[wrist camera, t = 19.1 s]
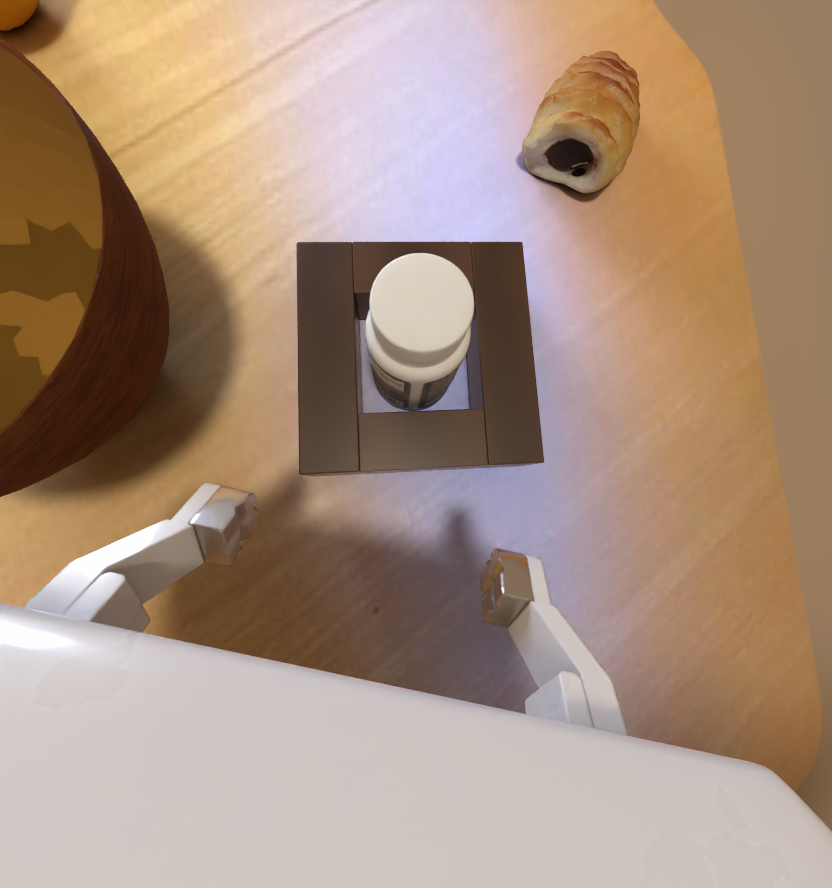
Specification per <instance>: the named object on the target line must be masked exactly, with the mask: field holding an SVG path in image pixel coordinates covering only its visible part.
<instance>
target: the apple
mask: <svg viewBox="0 0 832 888" xmlns="http://www.w3.org/2000/svg"><path fill="white" fill-rule="evenodd" d="M38 2H39V0H0V31H8V30H10V29H13V28H16V27H18V26H21V25H23V24H24V23H25V22H26V21H27V20H28V19H29V18H30V17H31V16H32V15H33V13H34V11H35V9H36V7H37V5H38Z"/></svg>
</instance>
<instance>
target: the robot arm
mask: <svg viewBox="0 0 832 888" xmlns="http://www.w3.org/2000/svg"><path fill="white" fill-rule="evenodd" d="M255 502H256V497H255V494H254V493H250V492H246V491H242V490H238V489H234V488H230V487H226V486H222V485H218V484H214V483H210V482H207V483H205V484H203V485H202V486H201V487H200V488H199V489H198V490H197V491H196V492H195V493H194V495H193V496H192V497H191V498H190V499H189V500H188V501H187V502H186V503H185V504H184V506H183V507H182V508H181V509H180V510H179V511H178V512H177V513H176V514H175V516H174V517H173V518H172V519H171V520H167V519H165V520H163V521H161V522H158V523H156V524H154V525H152V526H149V527H147V528H145V529H143V530H141V531H138V532H136V533H134V534H132V535H129V536H127V537H125V538H123V539H121V540H118V541H116V542H114V543H112V544H109V545H107V546H105V547H103V548H101V549H98V550H96V551H94V552H92V553H89V554H87V555H85V556H83V557H81V558H78V559H76V560H74V561H72V562H70V563H69V564H68V565H67V566H66V567H65V568H64V569H63V570H62V571H61V572H60V573H59V574H58V575H56V576H55V577H54V578H53V579H52V580H51V581H50V582H49V583H48V584H47V585H46V586H45V587H44V588H43V589H41V590H40V591H39V592H38V593H37V594H36V595H35V596H34V597H33V598H32V599H31V600H30V601H29V602H28V603H26V604H25V605H24V606H23V607H20V606H15V605H10V604H6V603H1V602H0V888H832V831H831V830H830V829H829V828H828V827H827V826H826V824H825V823H824V822H822V820H821V819H820V818H819V817H818V816H817V815H816V814H815V813H814V812H813V811H812V810H811V809H810V808H809V807H808V805H806V804H805V802H804V801H803V800H802V799H801V798H800V797H799V796H798V795H797V794H796V793H795V792H794V791H793V790H792V789H791V788H790V787H789V786H788V785H787V784H786V783H785V782H784V781H783V780H782V779H781V778H780V777H779V776H778V775H777V774H776V773H774V772H773V771H771V770H770V769H768V768H766V767H765V766H762V765H759V764H756V763H753V762H750V761H745V760H740V759H735V758H730V757H726V756H721V755H716V754H712V753H707V752H702V751H698V750H693V749H688V748H683V747H679V746H674V745H669V744H665V743H660V742H655V741H651V740H646V739H641V738H636V737H632V736H629V735H628V732H627V729H626V725H625V722H624V719H623V715H622V712H621V709H620V705H619V702H618V699H617V695H616V692H615V689H614V685H613V682H612V680H611V678H610V677H609V676H608V674H607V673H606V672H605V670H604V669H603V668H602V666H601V665H600V664H599V663H598V661H597V660H596V659H595V657H594V656H593V655H592V653H591V652H590V651H589V649H588V648H587V647H586V645H585V644H584V643H583V642H582V640H581V639H580V638H579V636H578V635H577V634H576V632H575V631H574V630H573V628H572V627H571V626H570V624H569V623H568V622H567V621H566V619H565V618H564V617H563V615H562V614H561V613H560V611H559V610H558V609H557V607H555V606H552V605H551V601H550V596H549V592H548V587H547V582H546V578H545V573H544V569H543V564H542V561H541V559H540V558H537V557H533V556H528V555H524V554H521V553H516V552H512V551H507V550H502V549H498V548H496V549H494V550H493V551H492V553H491V560H489V561H487V562H486V563H485V565H484V567H483V571H482V575H481V589H482V591H483V592H484V594H485V595H486V596H485V597H484V599H483V601H482V616H483V622H486V623H490V624H494V625H498V626H502V627H506V628H508V629H507V630H508V632H509V633H510V635H511V637H512V639H513V641H514V643H515V645H516V647H517V649H518V651H519V652H520V654H521V656H522V658H523V660H524V662H525V664H526V666H527V668H528V670H529V672H530V673H531V675H532V677H533V679H534V681H535V683H536V685H537V687H538V690H537V691H535V692H534V693H533V694H532V695H530V696H529V697H528V698H527V699H526V700H525V701H524V703H525V712H526V714H524V713H519V712H514V711H509V710H505V709H500V708H495V707H491V706H486V705H481V704H477V703H472V702H467V701H462V700H458V699H453V698H448V697H444V696H439V695H434V694H429V693H425V692H420V691H415V690H411V689H406V688H401V687H397V686H392V685H387V684H382V683H378V682H373V681H368V680H364V679H359V678H354V677H350V676H345V675H340V674H335V673H331V672H326V671H321V670H317V669H312V668H307V667H303V666H298V665H293V664H288V663H284V662H279V661H274V660H270V659H265V658H260V657H255V656H251V655H246V654H241V653H237V652H232V651H227V650H222V649H218V648H213V647H208V646H204V645H199V644H194V643H189V642H185V641H180V640H175V639H171V638H166V637H161V636H156V635H152V634H147V633H142V632H143V631H144V630H145V628H146V627H147V625H148V624H149V623H150V617H149V615H148V613H147V612H146V610H145V609H144V607H143V605H142V604H144V603H145V602H147V601H148V600H149V599H151V598H152V597H154V596H155V595H157V594H158V593H160V592H161V591H163V590H164V589H166V588H167V587H169V586H170V585H172V584H173V583H175V582H176V581H178V580H179V579H181V578H182V577H184V576H185V575H187V574H188V573H189V572H191V571H192V570H194V569H195V568H197V567H198V566H200V565H201V564H203V563H204V561H207V562H213V563H218V564H223V565H228V566H232V564H233V562H234V561H235V559H236V558H237V556H238V554H239V553H240V551H241V550H242V544H241V541H243V540H245V539H247V538H248V537H250V535H251V534H252V532H253V530H254V528H255V525H256V522H257V518H258V511H257V509H256V508H255V507H254V503H255Z"/></svg>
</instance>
